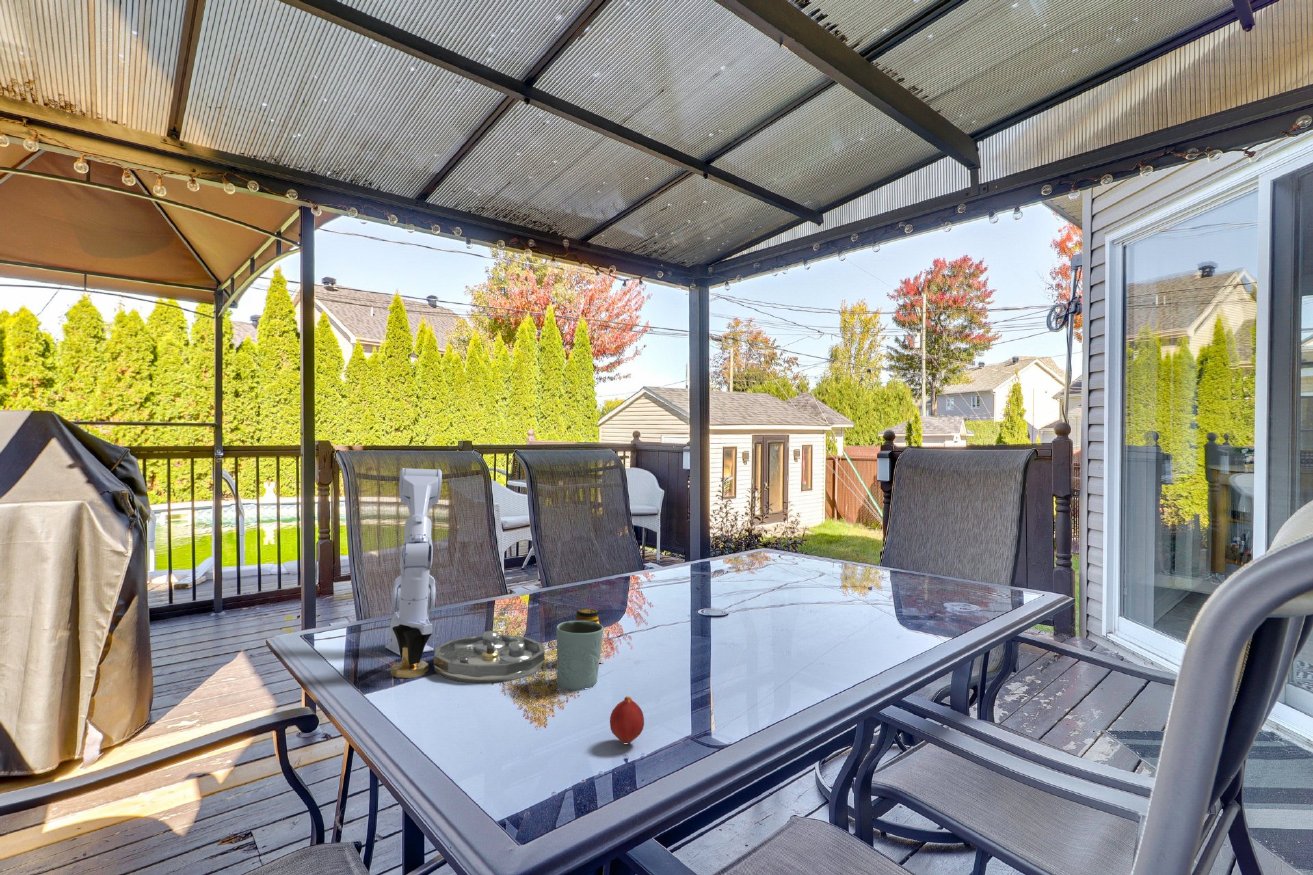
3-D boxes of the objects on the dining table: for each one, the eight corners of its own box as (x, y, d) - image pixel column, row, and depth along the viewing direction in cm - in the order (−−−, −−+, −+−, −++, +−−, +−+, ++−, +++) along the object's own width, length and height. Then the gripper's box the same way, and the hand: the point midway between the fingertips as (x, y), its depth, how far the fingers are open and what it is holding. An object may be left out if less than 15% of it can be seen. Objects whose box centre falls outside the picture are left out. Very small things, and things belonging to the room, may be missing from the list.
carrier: (415, 661, 142) (416, 637, 143) (506, 643, 160) (507, 621, 160) (468, 691, 126) (469, 663, 126) (563, 667, 143) (565, 643, 143)
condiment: (604, 663, 147) (606, 612, 148) (571, 668, 142) (574, 615, 143) (590, 655, 153) (592, 605, 154) (558, 659, 149) (561, 608, 149)
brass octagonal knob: (386, 671, 135) (388, 645, 136) (418, 664, 140) (419, 640, 141) (400, 679, 130) (402, 653, 131) (432, 673, 135) (434, 647, 136)
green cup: (581, 672, 140) (584, 618, 141) (611, 684, 133) (613, 627, 134) (544, 681, 133) (546, 624, 134) (572, 695, 126) (575, 635, 126)
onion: (608, 736, 108) (610, 688, 108) (642, 736, 108) (644, 689, 108) (609, 751, 102) (611, 701, 102) (644, 751, 102) (646, 701, 103)
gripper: (381, 594, 138) (378, 656, 138) (410, 606, 128) (406, 673, 128) (412, 590, 143) (409, 650, 143) (443, 601, 133) (439, 666, 133)
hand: (410, 660), depth 135 cm, fingers closed on brass octagonal knob, 3 cm apart
